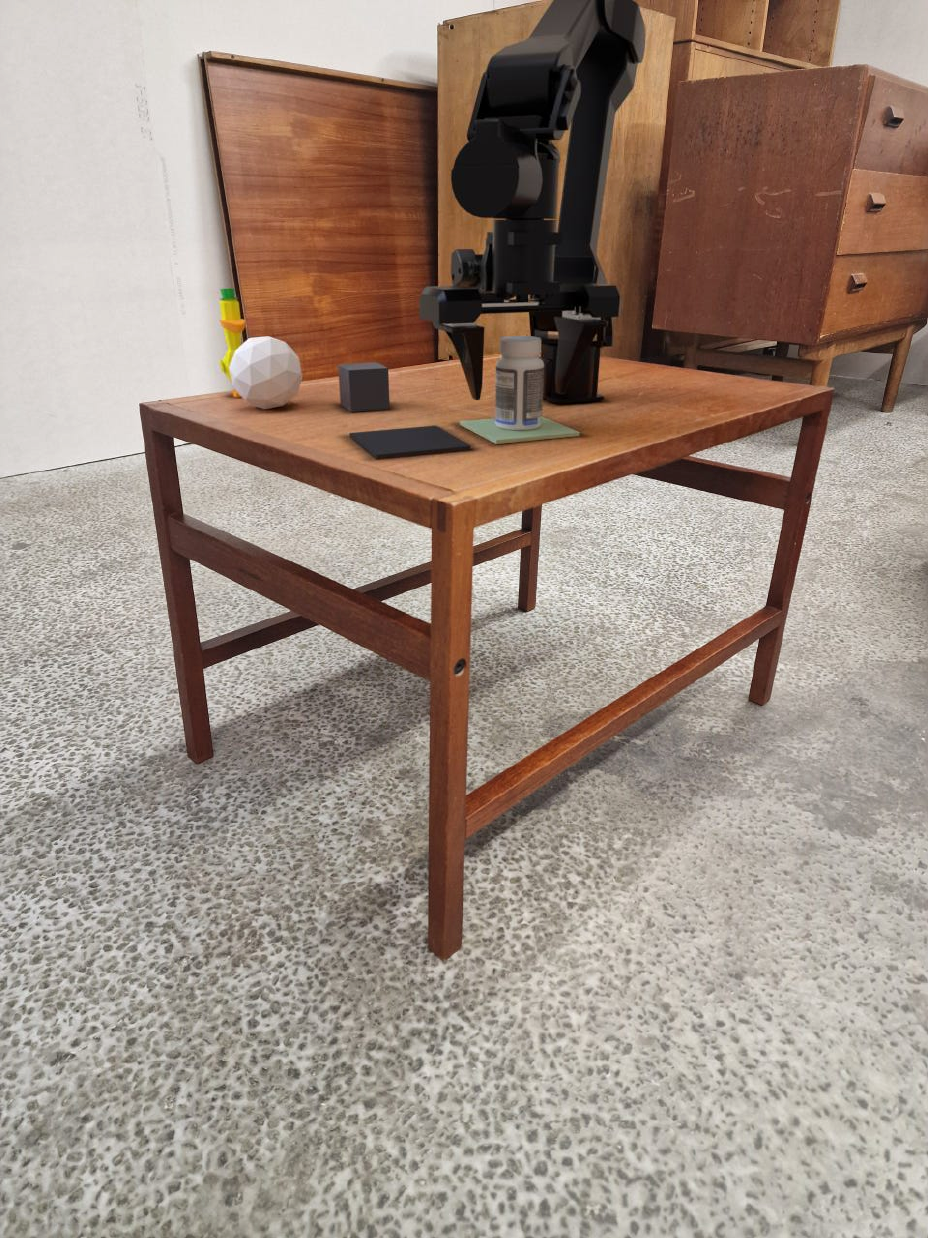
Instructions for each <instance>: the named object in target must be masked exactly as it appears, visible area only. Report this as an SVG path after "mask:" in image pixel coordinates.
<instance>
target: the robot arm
mask: <svg viewBox="0 0 928 1238" xmlns="http://www.w3.org/2000/svg"><path fill="white" fill-rule="evenodd" d="M645 49H646V25H645V21H644V18H643V15H642V12H641V8H640V6H639V3H638V2H636V1H635V0H552V1H551V3H550V5H549V6H548V7H547V9H546V11H545V12H544V13H543V15H542V17H541V18H540V19H539V21H538V23H537V24H536V25H535V27H534V29H533V30H532V32H531V33H530V34H529V36H528V37H527V38H526V39H525V40H521V41H518V42H515V43H512V44H510V45H506V46H503V47H502V48H501V49H500V50H498V51H496V53H495V54H493V55H492V56H491V58H490V59H489V61H488V63H487V65H486V68H485V71H484V72H483V73H482V76H481V78H480V82H479V86H478V89H477V94H476V97H475V100H474V105H473V109H472V113H471V116H470V120H469V124H468V127H467V131H466V139H467V142H466V143H465V144H464V145H463V147H462V148H460V150H459V152H458V153H457V156H456V157H455V160H454V163H453V168H451V173H450V181H451V189H452V192H453V194H454V197H455V199H456V201H457V203H458V204H459V205H460V207H461V208H462V209H463V210H464V211H465V212H466V213H468V214H469V215H472V216H474V217H477V218H480V219H481V218H482V219H492V231H487V232H486V238H485V249H484V252H483V253H482V254H481V253H480V254H479V253H478V254H476V252H475V250H474V249H473V248H456V249H455V250H453V252H452V253H451V254H450V255H451V257H450V276H451V283H452V285H442V286H440V285H435V286H434V285H433V286H431V285H430V286H424V288H423V290H422V292H420V295H419V298H418V299H419V300H418V307H419V308H418V310H419V319H421V320H425V321H429V322H432V325H433V327H434V329H436V330H440V331H442V332H443V331H444V332H445V334H446V336H447V337H448V338H449V339H450V341H451V343H452V346H453V347H454V350H455V352H456V354H457V356H458V360H459V362H460V366H461V368H462V371H463V374H464V378H465V380H466V384H467V387H468V390H469V392H470V395H471V398H472V400H475V401H480V400H481V396H482V390H483V378H484V353H485V352H484V351H485V350H484V349H485V326H482V325H478V324H477V320H478V319H479V317H480V316H482V315H492V314H494V315H495V314H521V313H522V314H523V313H528V318H529V319H528V320H529V336H533V337H539V338H541V351H540V352H541V354H540V356H539V358H541V359H542V360H543V362H544V384H543V400H546V401H548V402H551V403H554V404H571V403H581V402H582V403H584V402H595V401H605V395H604V394H600V393H598V390H599V378H600V377H599V376H600V364H601V363H600V362H601V349H603V348H608V347H611V348H612V347H613V346H614V335H615V333H614V331H615V330H614V329H615V328H614V318H619V317H621V311H622V300H623V299H622V296H621V293H620V291H619V289H618V287H617V285H615V284H608V283H607V281H608V279H607V277H606V274H605V272H604V270H603V267H602V265H601V263H600V260H599V258H598V255H597V251H598V242H599V237H600V236H599V235H600V227H601V221H602V213H603V208H604V207H603V206H604V200H605V199H604V198H605V192H606V184H607V176H608V171H609V170H608V169H609V164H610V163H609V162H610V155H611V147H612V140H613V132H614V125H615V118H616V113H617V111H618V110H619V109H620V107H621V106H622V104H623V103H624V102H625V100H626V99H627V98H628V97H629V95H630V93H631V92H632V91H633V89H634V87H635V82H636V76H637V71H638V66H639V64H642V62H643V60H644V56H645V52H646V51H645ZM566 131H569V137H568V144H567V151H566V152H567V153H566V159H565V168H564V175H563V184H562V185H563V186H562V192H561V199H560V207H559V214H558V223H557V213H558V212H557V210H558V190H559V169H560V163H561V155H560V151H559V149H558V148H557V146H555V144H554V143H553V141H561V140H562V138H563V137H564V134H565V132H566ZM549 332H550V333H551V332H552V333H553V334H552V333H551V334H549ZM555 332H556V333H557V334H554V333H555Z"/></svg>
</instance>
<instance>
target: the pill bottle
mask: <svg viewBox="0 0 928 1238" xmlns="http://www.w3.org/2000/svg"><path fill="white" fill-rule="evenodd" d="M499 354H500V355H501V357H499V358H498V359H497V361H496V362H495V381H494V382H495V388H494V389H495V393H494V394H495V395H494V396H495V397H494V398H495V399H494V402H495V403H494V404H495V405H494V407H495V408H494V418H495V424H496V426H497V427H499V428H501V429H506V430H533V429H537V428H539V427H540V426H541V425H542V417H543V410H544V409H543V407H544V399H543V384H544V362H543V360H542V359H541V358H539V357H540V356H539V355H541V338H539V337H533V336H531V335H512V336H511V335H510V336H504V337H501V338H500V339H499Z"/></svg>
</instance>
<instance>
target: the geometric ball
mask: <svg viewBox="0 0 928 1238" xmlns="http://www.w3.org/2000/svg"><path fill="white" fill-rule="evenodd" d="M229 370H230V375H231V380H232V382H231V384H232V388H233V390H234V389H235V390H236V391H237V393H238V394H239V395H240V396H241V397H240V398H242V400H244V402H245V403H246V404H248V405H250V406H253V407H256V408H258V409H262V410H265V411H266V410H270V409H276V408H280V407H284V406H285V405H286V404H287V403H289V402H290V401H291V400H292V399H293V398H295V397H296V396H297V395H298V393H299V390H300V388H301V387H300V386H301V384H302V382H303V372H302V367H301V361H300V357H299V356H298V355H297V354H296V353H295V351H294V350H293V349H292V348H291V346H289V344H288V343H287V342H286V341H283V340H281V339H278V338H275V337H272V336H269V335H266V336H265V335H264V336H256V337H249V338H248V339H246V340H245V341H244V342H243V343H241V346H240V347H239V348H238V349H237V350H236V351H235V352H234V355H233V358H232V361H231V363H230V366H229Z"/></svg>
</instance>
